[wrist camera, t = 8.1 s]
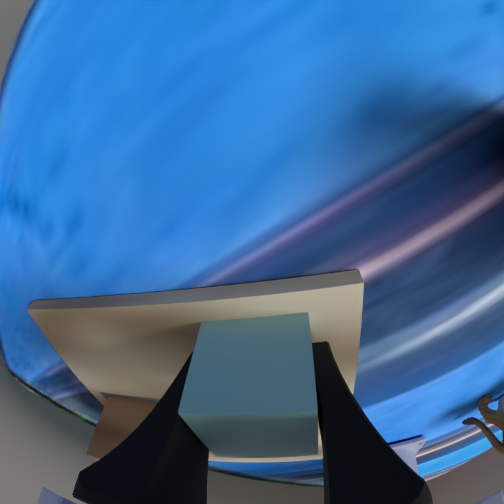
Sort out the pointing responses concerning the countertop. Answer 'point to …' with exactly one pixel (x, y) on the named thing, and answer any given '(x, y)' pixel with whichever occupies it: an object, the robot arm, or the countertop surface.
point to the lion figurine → (490, 420)
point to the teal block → (253, 388)
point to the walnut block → (117, 424)
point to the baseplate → (191, 331)
